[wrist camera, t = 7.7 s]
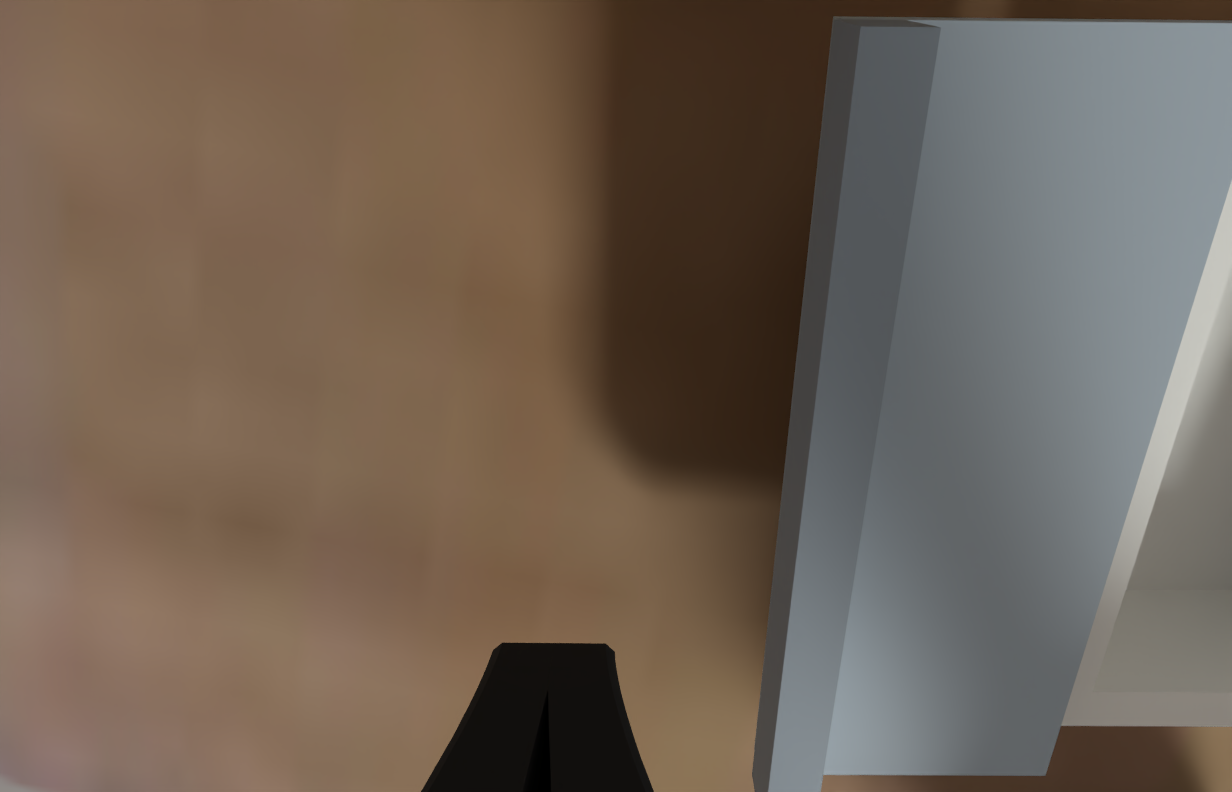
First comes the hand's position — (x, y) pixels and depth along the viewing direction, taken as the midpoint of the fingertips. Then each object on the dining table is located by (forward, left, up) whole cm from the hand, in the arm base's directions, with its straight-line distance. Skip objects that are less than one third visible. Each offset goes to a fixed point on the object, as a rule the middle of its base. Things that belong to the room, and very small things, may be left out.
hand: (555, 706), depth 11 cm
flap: (0, -7, -6) cm, 9 cm away
